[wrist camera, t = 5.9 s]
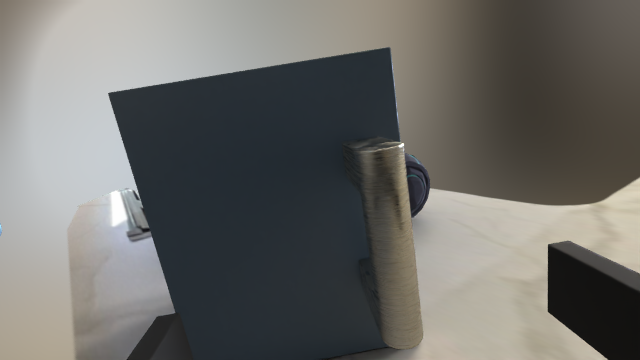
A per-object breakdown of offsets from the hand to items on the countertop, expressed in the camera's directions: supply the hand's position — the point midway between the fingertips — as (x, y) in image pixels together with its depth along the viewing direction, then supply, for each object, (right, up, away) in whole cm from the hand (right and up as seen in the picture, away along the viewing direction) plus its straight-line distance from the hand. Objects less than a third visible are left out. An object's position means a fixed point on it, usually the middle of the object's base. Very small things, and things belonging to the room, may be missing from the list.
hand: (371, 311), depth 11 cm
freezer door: (-2, -9, +8) cm, 12 cm away
